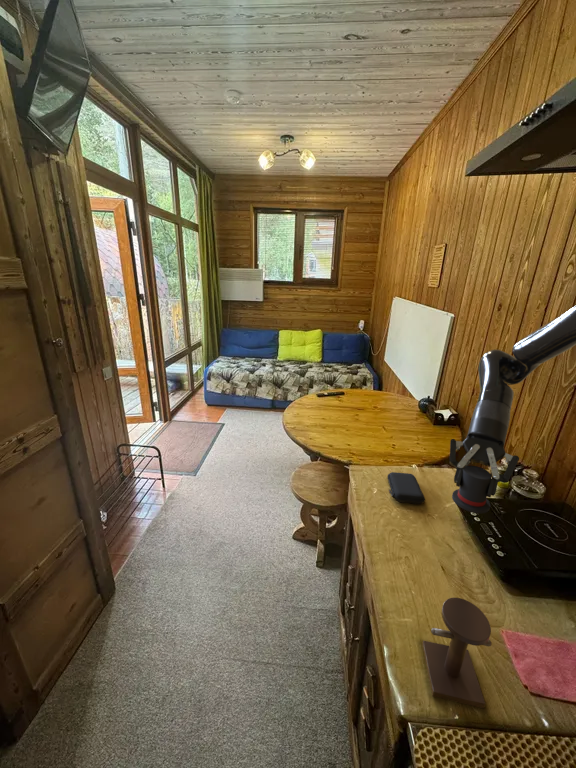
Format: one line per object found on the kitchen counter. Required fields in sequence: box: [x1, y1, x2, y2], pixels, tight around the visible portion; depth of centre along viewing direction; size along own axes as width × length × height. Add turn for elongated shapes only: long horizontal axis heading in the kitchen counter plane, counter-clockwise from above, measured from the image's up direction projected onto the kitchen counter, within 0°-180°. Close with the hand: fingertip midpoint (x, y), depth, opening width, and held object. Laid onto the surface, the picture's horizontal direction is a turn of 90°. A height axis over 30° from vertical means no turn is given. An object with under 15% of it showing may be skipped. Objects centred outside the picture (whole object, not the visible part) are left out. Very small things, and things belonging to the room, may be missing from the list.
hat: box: [451, 465, 492, 514], centre depth 70 cm, size 8×8×8 cm
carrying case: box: [387, 471, 426, 505], centre depth 103 cm, size 11×3×15 cm
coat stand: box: [421, 597, 492, 709], centre depth 53 cm, size 9×8×14 cm
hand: (473, 490), depth 68 cm, fingers closed on hat, 5 cm apart
